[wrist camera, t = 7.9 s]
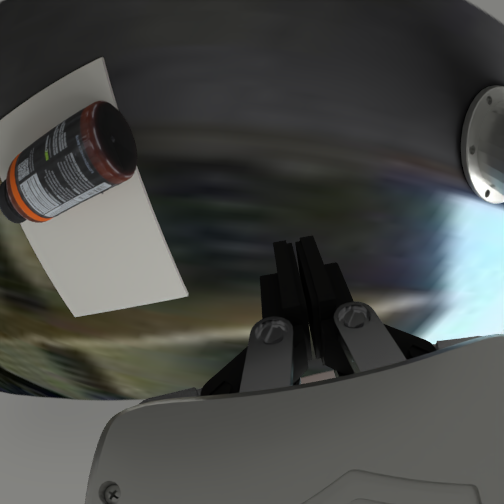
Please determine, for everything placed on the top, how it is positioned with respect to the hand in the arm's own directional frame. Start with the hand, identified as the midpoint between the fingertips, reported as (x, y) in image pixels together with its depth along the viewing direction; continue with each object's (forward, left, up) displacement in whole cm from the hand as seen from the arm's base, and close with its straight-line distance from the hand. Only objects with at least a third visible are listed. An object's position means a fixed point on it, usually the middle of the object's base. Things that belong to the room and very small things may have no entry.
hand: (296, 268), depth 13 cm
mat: (+16, -2, -12) cm, 20 cm away
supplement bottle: (+8, -7, -8) cm, 14 cm away
